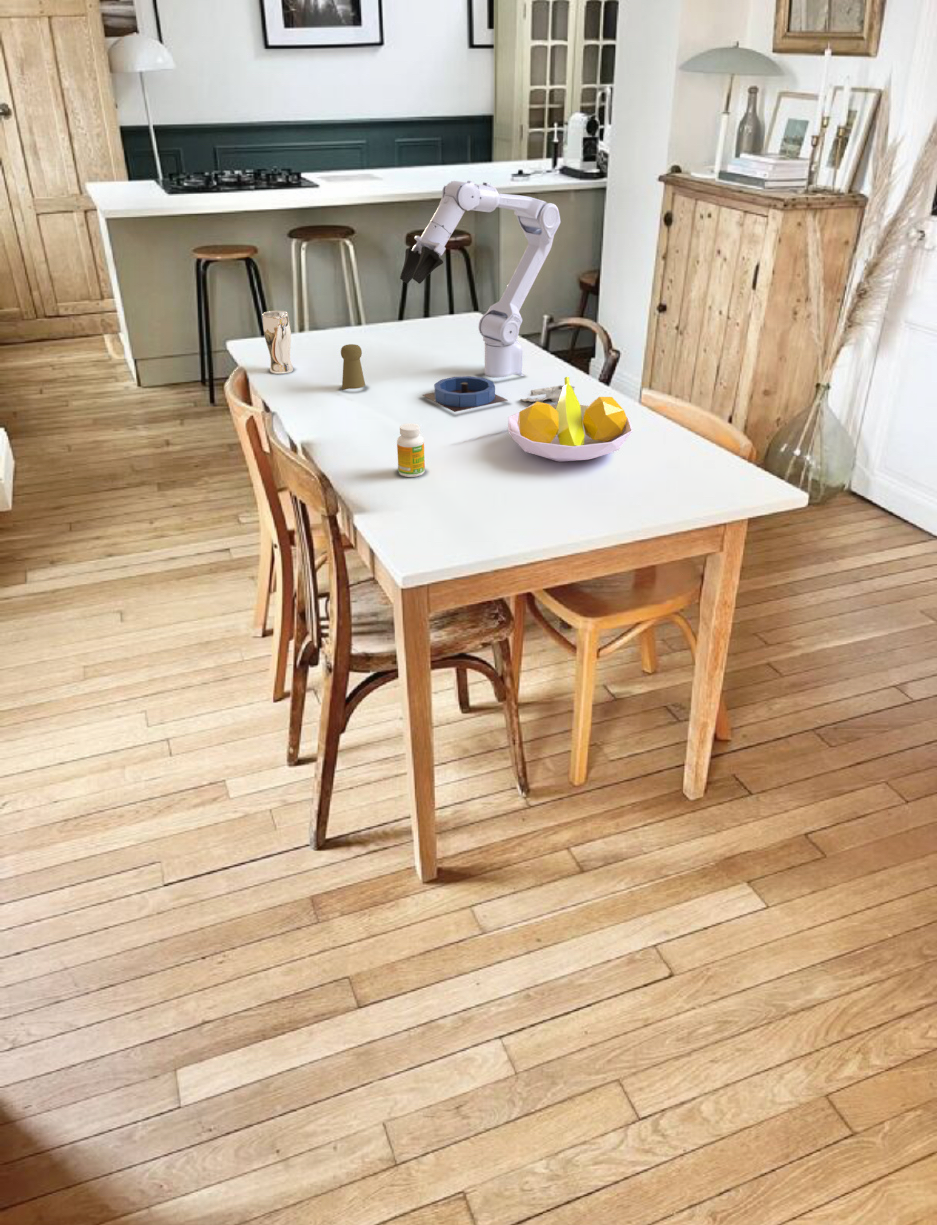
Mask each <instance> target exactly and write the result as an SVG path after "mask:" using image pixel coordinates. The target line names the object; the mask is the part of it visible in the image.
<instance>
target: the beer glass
mask: <svg viewBox="0 0 937 1225" xmlns="http://www.w3.org/2000/svg"><path fill="white" fill-rule="evenodd" d="M289 317H290V316H289V312H288V311H286V310H269V311H265V312H263V313H262V326H263V327H262V329H263V336H264V340H265V344H266V347H267V351H268V355H269V363H270V364H269V372H270V373H272V374H274V375H276V374H277V375H282V374H283V375H285V374H289V373H291V372H293V370H294V368H293V363H292V360H291V343H292V329H291V322H290V318H289Z"/></svg>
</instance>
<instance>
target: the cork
mask: <svg viewBox="0 0 937 1225" xmlns="http://www.w3.org/2000/svg"><path fill="white" fill-rule="evenodd" d="M362 354H363V350H362V348H361V346H360V345H358V344H353V343H349V344H344V345H343V346H342V347H341V348H340V356H341V358H342V359H343V361H342V362H343V364H342V379H341V390H342V391H344V390H345V391H346V390H355V389H362V388H364V387H365V386H366V383H365V378H364V372H363V367H362V361H361V358H362Z"/></svg>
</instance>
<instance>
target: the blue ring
mask: <svg viewBox="0 0 937 1225" xmlns="http://www.w3.org/2000/svg"><path fill="white" fill-rule="evenodd" d="M463 382H466V383H468V390H474V391H478V392H474V393H455V392H451V391H455V390H461V383H463ZM433 389H434V390H433V392H434V394H435V400H436V401H437V402H439V403H441V404H443V405H447V406H454V407H475V408H477V407H476V406H480V405H484V404H488V403H490V402H491V401H493V400H494V399H495V394H496V385H495V383H494V381H493V380H489V379H487V378H484V377H479V376H469V375H467V376H451V377H447V378H443V379H440V380H438V381H437V382H435V383H434V384H433ZM480 407H481V406H480Z"/></svg>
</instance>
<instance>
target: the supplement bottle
mask: <svg viewBox="0 0 937 1225" xmlns="http://www.w3.org/2000/svg"><path fill="white" fill-rule="evenodd" d="M399 434H400V435H399V436H398V437H397V439H396V450H397V470H398V474H399V475H400V476H402V477H407V478H415V477H420V476H422V475H424V474H425V472H426V466H425V465H426V464H425V463H426V462H425V439H424V437H423V436H422V435H421V427H420V425H419V424H418V423H403V424H401V425H400V426H399Z"/></svg>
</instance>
